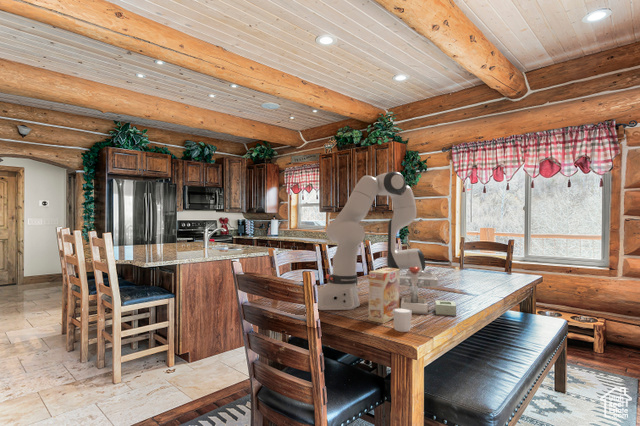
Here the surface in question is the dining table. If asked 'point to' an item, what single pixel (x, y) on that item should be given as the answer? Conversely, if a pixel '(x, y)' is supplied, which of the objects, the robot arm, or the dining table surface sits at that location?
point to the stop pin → (414, 284)
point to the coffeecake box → (383, 294)
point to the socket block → (445, 307)
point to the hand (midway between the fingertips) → (414, 284)
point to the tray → (415, 305)
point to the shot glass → (402, 319)
